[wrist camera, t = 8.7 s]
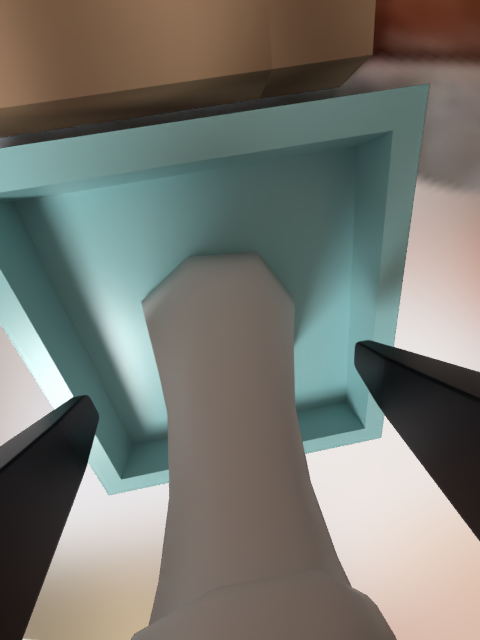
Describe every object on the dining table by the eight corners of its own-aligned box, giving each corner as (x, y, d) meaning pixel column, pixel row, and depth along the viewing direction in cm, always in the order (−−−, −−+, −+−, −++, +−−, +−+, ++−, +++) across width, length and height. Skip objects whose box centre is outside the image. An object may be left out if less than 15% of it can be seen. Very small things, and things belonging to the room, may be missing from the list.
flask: (268, 220, 10) (870, 298, 1) (311, 355, 13) (548, 687, 4) (112, 288, 10) (-575, 821, 1) (189, 404, 13) (145, 807, 4)
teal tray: (376, 114, 9) (429, 83, 7) (356, 404, 16) (381, 437, 13) (-21, 176, 9) (-102, 163, 6) (124, 452, 15) (109, 495, 13)
